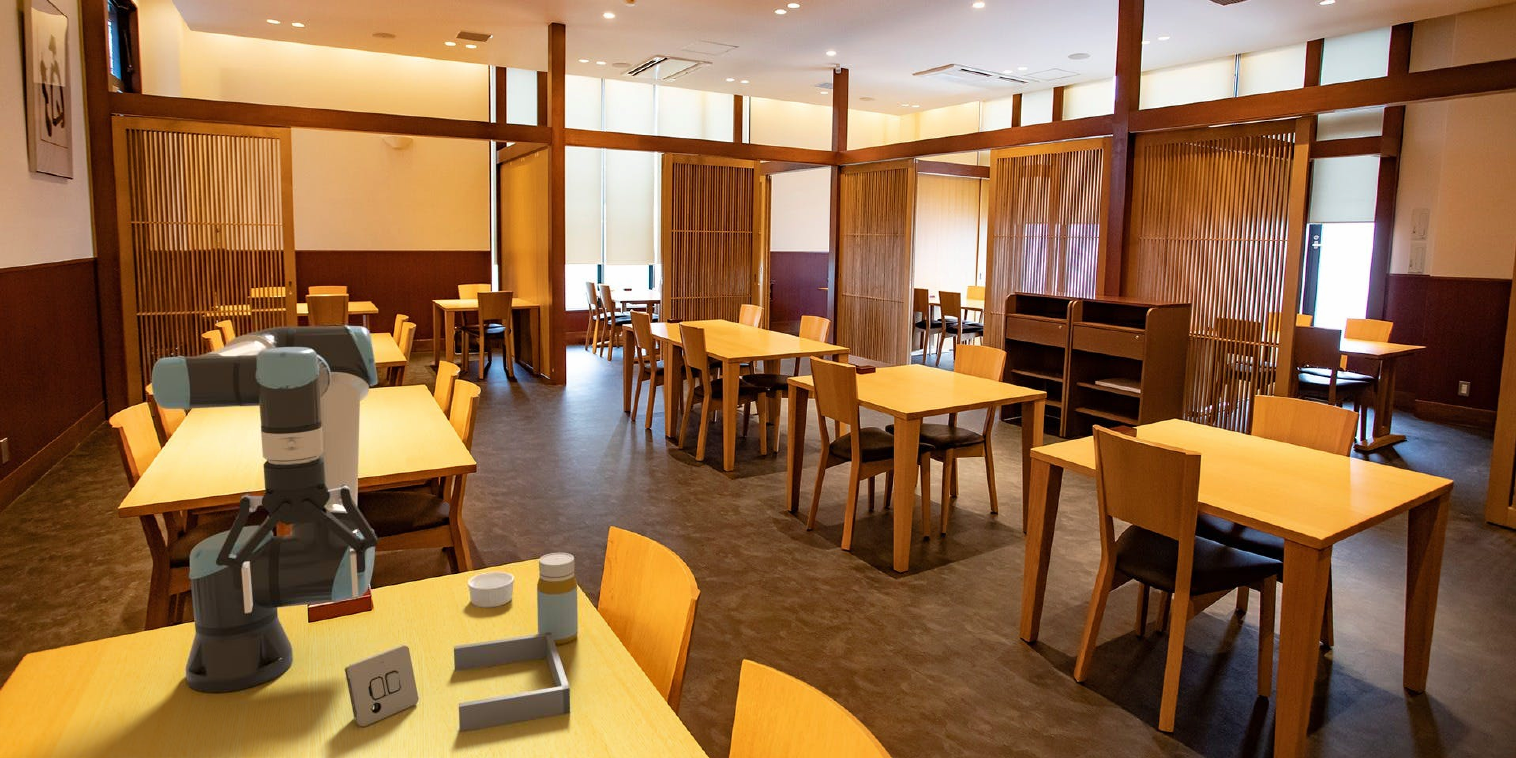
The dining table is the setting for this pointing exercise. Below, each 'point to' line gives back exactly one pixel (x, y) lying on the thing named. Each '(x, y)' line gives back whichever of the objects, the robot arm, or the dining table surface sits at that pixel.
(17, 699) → the dining table surface
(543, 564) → the bottle
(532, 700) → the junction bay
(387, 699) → the electrical switch
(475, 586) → the ramekin
